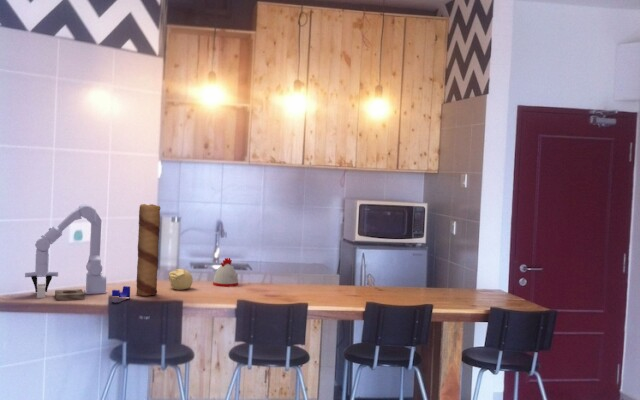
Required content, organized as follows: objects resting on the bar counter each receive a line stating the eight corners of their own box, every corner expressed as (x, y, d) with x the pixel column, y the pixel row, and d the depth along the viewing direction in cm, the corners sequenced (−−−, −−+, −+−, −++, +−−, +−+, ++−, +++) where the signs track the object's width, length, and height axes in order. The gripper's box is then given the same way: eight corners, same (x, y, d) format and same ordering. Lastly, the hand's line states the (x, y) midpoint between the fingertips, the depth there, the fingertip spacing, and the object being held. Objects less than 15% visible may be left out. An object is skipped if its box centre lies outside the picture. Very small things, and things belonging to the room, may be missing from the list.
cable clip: (121, 298, 311) (121, 285, 311) (129, 298, 310) (130, 286, 310) (108, 302, 299) (109, 290, 299) (117, 303, 298) (118, 290, 298)
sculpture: (165, 288, 342) (165, 267, 341) (185, 286, 350) (186, 266, 349) (175, 291, 333) (176, 270, 333) (196, 289, 341) (196, 269, 341)
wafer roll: (149, 291, 329) (151, 203, 328) (161, 295, 322) (164, 205, 321) (131, 294, 321) (134, 204, 320) (143, 297, 314) (146, 205, 313)
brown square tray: (81, 294, 315) (81, 289, 315) (84, 299, 304) (84, 294, 304) (55, 295, 310) (55, 290, 310) (57, 300, 298) (57, 295, 298)
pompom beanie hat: (243, 284, 363) (244, 258, 362) (226, 287, 351) (227, 260, 350) (224, 281, 370) (225, 255, 370) (207, 284, 358) (208, 257, 358)
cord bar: (45, 292, 317) (45, 282, 316) (45, 297, 304) (45, 287, 304) (37, 292, 315) (37, 282, 315) (36, 298, 302) (37, 287, 302)
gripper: (57, 262, 316) (56, 289, 316) (25, 262, 309) (24, 290, 310) (58, 264, 309) (57, 292, 310) (25, 264, 303) (24, 293, 304)
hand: (41, 291), depth 309 cm, fingers closed on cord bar, 4 cm apart
